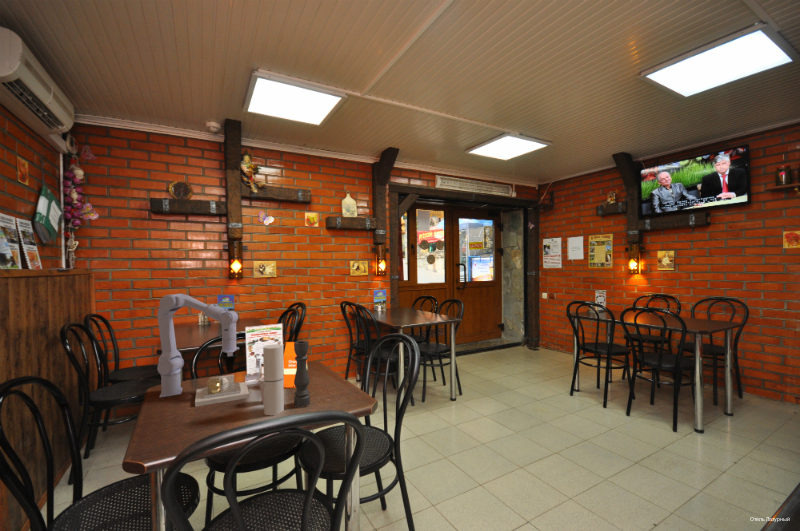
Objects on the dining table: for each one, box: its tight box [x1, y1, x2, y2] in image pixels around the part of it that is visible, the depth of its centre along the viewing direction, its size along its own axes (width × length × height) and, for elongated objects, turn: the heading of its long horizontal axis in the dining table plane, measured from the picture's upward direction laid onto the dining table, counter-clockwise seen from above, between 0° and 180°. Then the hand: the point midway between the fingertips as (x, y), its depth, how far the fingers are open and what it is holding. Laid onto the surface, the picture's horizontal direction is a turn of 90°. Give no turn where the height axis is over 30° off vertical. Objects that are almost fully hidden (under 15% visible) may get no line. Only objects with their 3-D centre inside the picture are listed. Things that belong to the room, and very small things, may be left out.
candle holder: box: [293, 340, 311, 408], centre depth 145 cm, size 6×6×25 cm
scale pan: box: [203, 381, 241, 398], centre depth 157 cm, size 12×14×1 cm
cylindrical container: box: [262, 343, 285, 416], centre depth 138 cm, size 7×7×25 cm
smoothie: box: [258, 376, 264, 405], centre depth 148 cm, size 6×6×14 cm
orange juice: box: [283, 341, 308, 388], centre depth 170 cm, size 8×9×20 cm
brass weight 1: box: [206, 378, 219, 391], centre depth 156 cm, size 4×4×4 cm
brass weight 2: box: [209, 381, 221, 394], centre depth 152 cm, size 4×4×4 cm
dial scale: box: [194, 374, 250, 408], centre depth 157 cm, size 18×20×6 cm
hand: (229, 369), depth 160 cm, fingers open, 7 cm apart
